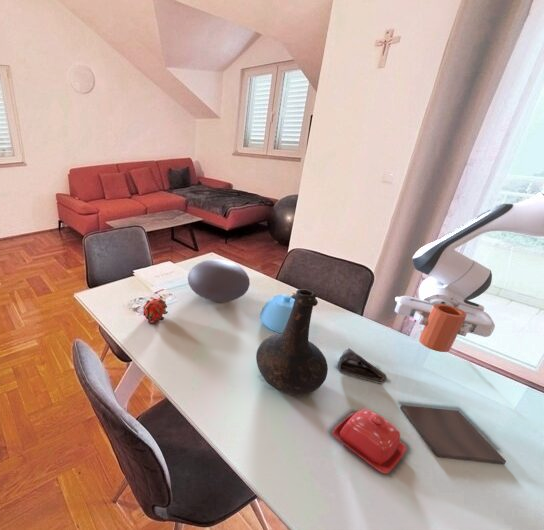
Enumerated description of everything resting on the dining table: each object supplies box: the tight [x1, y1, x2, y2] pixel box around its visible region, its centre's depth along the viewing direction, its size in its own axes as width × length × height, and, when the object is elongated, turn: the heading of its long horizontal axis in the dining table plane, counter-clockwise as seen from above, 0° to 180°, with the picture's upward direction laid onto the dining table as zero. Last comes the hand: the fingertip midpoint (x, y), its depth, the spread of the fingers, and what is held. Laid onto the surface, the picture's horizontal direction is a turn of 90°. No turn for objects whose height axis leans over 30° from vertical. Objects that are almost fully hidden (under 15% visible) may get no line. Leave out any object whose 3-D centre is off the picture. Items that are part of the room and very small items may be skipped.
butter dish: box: [332, 408, 407, 475], centre depth 69 cm, size 12×12×8 cm
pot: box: [418, 304, 467, 353], centre depth 83 cm, size 6×6×11 cm
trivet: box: [399, 404, 507, 465], centre depth 73 cm, size 13×13×1 cm
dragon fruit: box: [142, 297, 169, 324], centre depth 115 cm, size 8×8×12 cm
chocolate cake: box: [337, 347, 388, 385], centre depth 92 cm, size 10×7×12 cm
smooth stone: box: [187, 259, 251, 303], centre depth 129 cm, size 25×25×15 cm
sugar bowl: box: [259, 293, 295, 334], centre depth 111 cm, size 15×15×12 cm
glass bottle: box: [255, 288, 329, 396], centre depth 82 cm, size 18×18×28 cm
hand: (442, 327), depth 82 cm, fingers closed on pot, 6 cm apart
